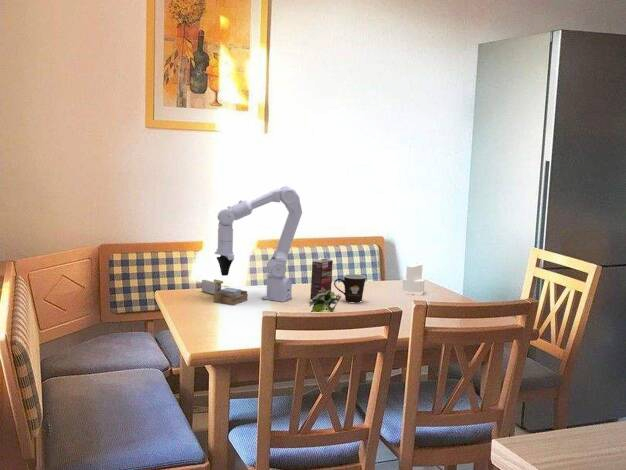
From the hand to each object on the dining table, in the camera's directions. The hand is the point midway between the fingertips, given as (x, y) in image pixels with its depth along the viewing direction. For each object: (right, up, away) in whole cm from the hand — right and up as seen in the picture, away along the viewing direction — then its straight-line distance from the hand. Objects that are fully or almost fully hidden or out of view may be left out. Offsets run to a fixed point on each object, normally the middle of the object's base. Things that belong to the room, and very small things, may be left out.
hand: (224, 275), depth 265 cm
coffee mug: (+49, -11, +7) cm, 50 cm away
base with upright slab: (+77, -9, +26) cm, 81 cm away
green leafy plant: (+39, -14, -17) cm, 44 cm away
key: (-6, -8, +8) cm, 13 cm away
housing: (+3, -10, -2) cm, 10 cm away
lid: (+3, -7, -3) cm, 8 cm away
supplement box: (+37, -10, +6) cm, 39 cm away
